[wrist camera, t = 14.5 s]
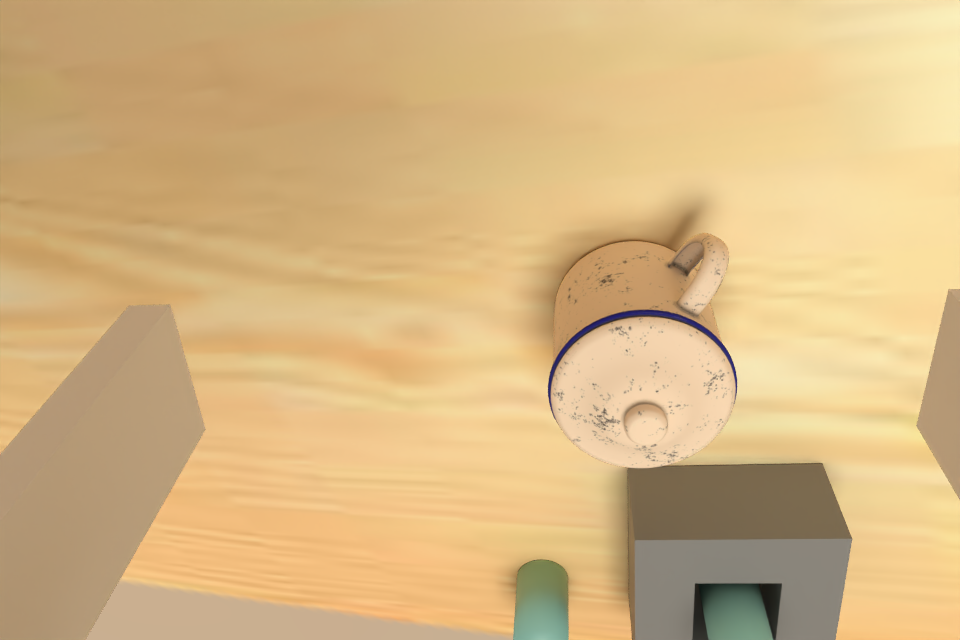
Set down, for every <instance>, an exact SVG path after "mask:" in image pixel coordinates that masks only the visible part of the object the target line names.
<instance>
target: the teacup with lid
mask: <svg viewBox="0 0 960 640" xmlns="http://www.w3.org/2000/svg"><path fill="white" fill-rule="evenodd" d="M701 259H703V260H702V262H701V265H700V268H699V270H698V272H697V271H696V269H695V268H694V267H695V266H696V265H697V264H698V263H699V262H700V260H701ZM728 262H729V252H728V248H727V246H726V244H725V243H724V242H723V241H722V240H721V239H719V238H717V237H715V236H713V235H711V234H708V233H702V234H698V235H695V236H693V237H692V238H690V239H689V240H688V241H686V242H685V243H684V244H683V245H682V246H681V247H680V248H679V250H678V251H677V252H675V251H673V250H671V249H669V248H666V247H664V246H661V245H658V244H654V243H649V242H641V241H627V242H619V243H614V244H610V245H607V246H604V247H601V248H599V249H597V250H595V251H593V252H591V253H589V254H588V255H586V256H585V257H583V258H582V259H581V260H579V261H578V262H577V263H576V264H575V265H574V266H573V267H572V268H571V269H570V270H569V272H568V273H567V274H566V276H565V277H564V279H563V281H562V282H561V285H560V287H559V289H558V292H557V295H556V300H555V309H554V360H553V366H552V369H551V372H550V376H549V383H548V397H549V403H550V407H551V411H552V413H553V415H554V418H555V420H556V421H557V423H558V425H559V426H560V428H561V430H562V431H563V433H564V434H565V435H566V436H567V437H568V439H569V440H570V441H571V442H572V443H573V444H575V445H576V446H577V447H578V448H579V449H581V450H582V451H584V452H585V453H587V454H588V455H590V456H592V457H594V458H596V459H598V460H600V461H603V462H606V463H609V464H612V465H616V466H621V467H627V468H653V467H660V466H665V465H669V464H672V463H676V462H679V461H681V460H684V459H686V458H688V457H690V456H692V455H694V454H695V453H697V452H699V451H700V450H701V449H703V448H704V447H706V446H707V445H708V444H709V443H710V442H711V441H712V440H713V439H714V438H715V437H716V436H717V435H718V434H719V433H720V431H721V430H722V429H723V427H724V426H725V424H726V423H727V421H728V419H729V417H730V415H731V412H732V409H733V406H734V403H735V399H736V393H737V377H736V371H735V367H734V364H733V361H732V359H731V356H730V354H729V353H728V351H727V349H726V348H725V346H724V345H723V344H722V342H721V338H720V335H719V332H718V328H717V325H716V322H715V318H714V315H713V312H712V308H711V305H710V300H711V299H712V298H713V296H714V295H715V293H716V292H717V290H718V288H719V286H720V285H721V283H722V280H723V278H724V276H725V273H726V270H727V267H728Z"/></svg>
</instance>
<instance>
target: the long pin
mask: <svg viewBox="0 0 960 640" xmlns="http://www.w3.org/2000/svg"><path fill="white" fill-rule="evenodd" d="M698 585H699V591H700V596H701V602H702V607H703V613H704V618H705V623H706V629H707V634H708V640H773V637H772V633H771V629H770V626H769V622H768V618H767V614H766V610H765V607H764V603H763V599H762V595H761V591H760V588H759V584H758V583H698Z"/></svg>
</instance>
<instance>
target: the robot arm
mask: <svg viewBox="0 0 960 640" xmlns="http://www.w3.org/2000/svg"><path fill="white" fill-rule="evenodd" d="M917 428H918V429H919V431H920V433H921V434H922V436H923V438H924V440H925V441H926V443H927V445H928V446H929V448H930V450H931V452H932V453H933V455H934V457H935V458H936V460H937V462H938V464H939V465H940V467H941V469H942V470H943V472H944V474H945V475H946V477H947V479H948V481H949V482H950V484H951V486H952V487H953V489H954V491H955V493H956V494H957V496H958V498H959V499H960V289H949V290H948V295H947V299H946V303H945V307H944V311H943V316H942V320H941V324H940V328H939V333H938V337H937V341H936V345H935V350H934V354H933V358H932V362H931V366H930V371H929V375H928V379H927V383H926V388H925V392H924V396H923V400H922V405H921V409H920V413H919V417H918V421H917ZM204 431H205V426H204V422H203V419H202V415H201V412H200V408H199V405H198V401H197V397H196V394H195V390H194V387H193V383H192V380H191V376H190V372H189V369H188V365H187V362H186V358H185V355H184V351H183V348H182V344H181V340H180V337H179V333H178V330H177V326H176V323H175V319H174V316H173V312H172V308H171V305H132V306H128V307H127V309H126V310H125V311H124V312H123V313H122V314H121V316H120V317H119V318H118V319H117V320H116V321H115V322H114V324H113V325H112V326H111V327H110V328H109V329H108V331H107V332H106V333H105V334H104V335H103V336H102V337H101V339H100V340H99V341H98V342H97V343H96V344H95V346H94V347H93V348H92V349H91V350H90V351H89V352H88V354H87V355H86V356H85V357H84V358H83V359H82V361H81V362H80V363H79V364H78V365H77V366H76V367H75V369H74V370H73V371H72V372H71V373H70V374H69V376H68V377H67V378H66V379H65V380H64V381H63V382H62V384H61V385H60V386H59V387H58V388H57V389H56V391H55V392H54V393H53V394H52V395H51V396H50V397H49V399H48V400H47V401H46V402H45V403H44V404H43V406H42V407H41V408H40V409H39V410H38V411H37V412H36V414H35V415H34V416H33V417H32V418H31V419H30V421H29V422H28V423H27V424H26V425H25V426H24V427H23V429H22V430H21V431H20V432H19V433H18V434H17V436H16V437H15V438H14V439H13V440H12V441H11V442H10V444H9V445H8V446H7V447H6V448H5V449H4V451H3V452H2V453H1V454H0V640H86V638H87V636H88V635H89V633H90V631H91V629H92V628H93V626H94V624H95V622H96V621H97V619H98V617H99V615H100V614H101V612H102V610H103V608H104V607H105V605H106V603H107V601H108V600H109V598H110V596H111V594H112V593H113V591H114V589H115V587H116V586H117V584H118V582H119V580H120V578H121V577H122V575H123V573H124V571H125V570H126V568H127V566H128V564H129V563H130V561H131V559H132V557H133V556H134V554H135V552H136V550H137V549H138V547H139V545H140V543H141V542H142V540H143V538H144V536H145V535H146V533H147V531H148V529H149V528H150V526H151V524H152V522H153V521H154V519H155V517H156V515H157V513H158V512H159V510H160V508H161V506H162V505H163V503H164V501H165V499H166V498H167V496H168V494H169V492H170V491H171V489H172V487H173V485H174V484H175V482H176V480H177V478H178V477H179V475H180V473H181V471H182V470H183V468H184V466H185V464H186V463H187V461H188V459H189V457H190V456H191V454H192V452H193V450H194V449H195V447H196V445H197V443H198V441H199V440H200V438H201V436H202V434H203V433H204Z"/></svg>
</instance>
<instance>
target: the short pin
mask: <svg viewBox="0 0 960 640" xmlns="http://www.w3.org/2000/svg"><path fill="white" fill-rule="evenodd" d="M513 640H568V575H567V572H566V571H565V569H564V568H563V567H562V566H560V565H559V564H557V563H555V562H552V561H549V560H534V561H531V562H528V563H526V564H525V565H523V566H522V567H521V568H520V569H519V571H518V574H517V587H516V603H515V619H514V635H513Z"/></svg>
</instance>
